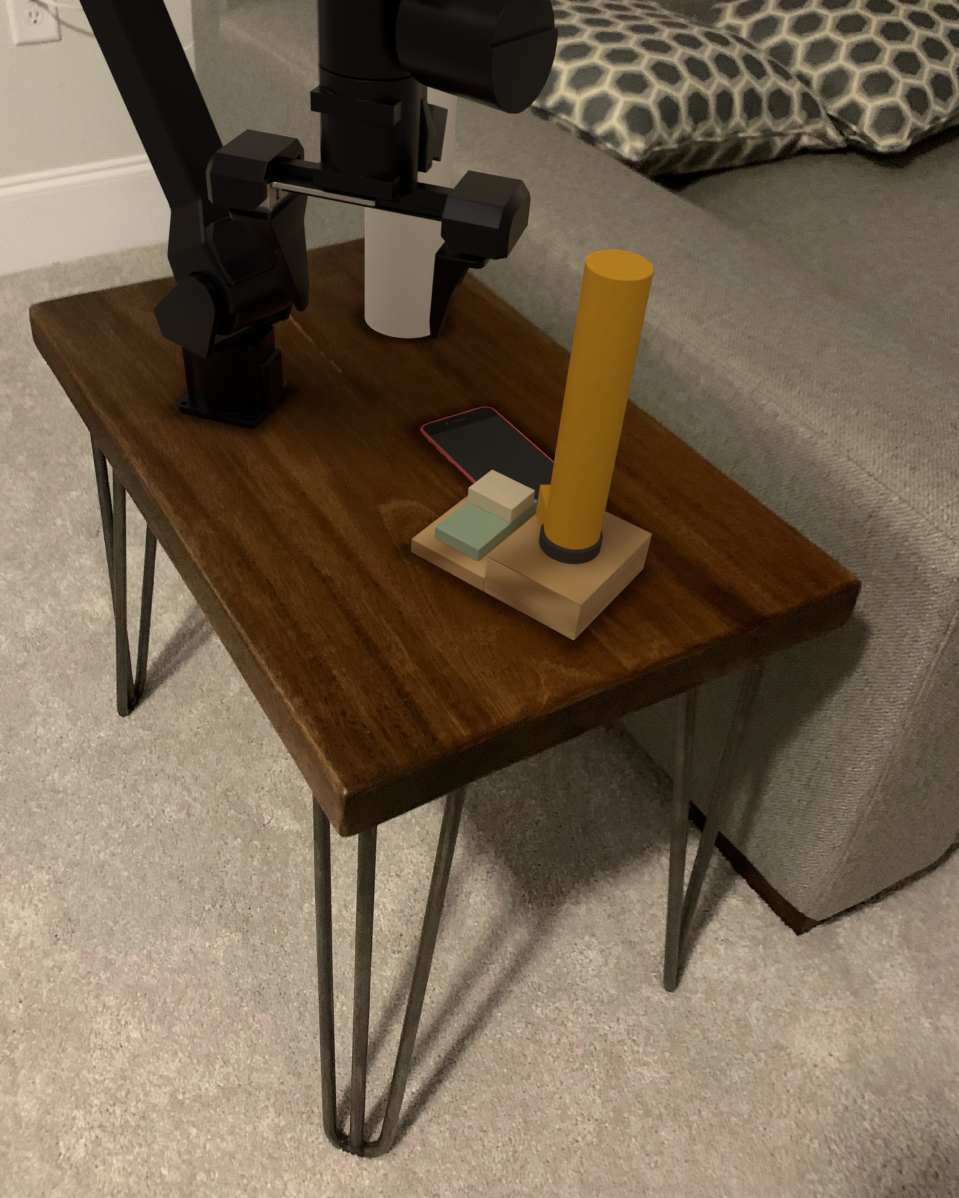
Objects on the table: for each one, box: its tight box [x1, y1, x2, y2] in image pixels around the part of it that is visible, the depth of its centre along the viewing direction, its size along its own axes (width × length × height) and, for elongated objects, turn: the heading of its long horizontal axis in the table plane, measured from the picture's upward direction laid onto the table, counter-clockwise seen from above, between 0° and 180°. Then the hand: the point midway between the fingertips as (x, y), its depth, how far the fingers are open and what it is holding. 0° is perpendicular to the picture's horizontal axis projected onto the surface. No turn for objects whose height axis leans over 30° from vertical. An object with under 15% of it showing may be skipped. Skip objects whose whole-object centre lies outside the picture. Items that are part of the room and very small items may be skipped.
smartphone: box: [419, 406, 554, 501], centre depth 78 cm, size 7×1×14 cm
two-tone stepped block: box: [435, 470, 538, 561], centre depth 70 cm, size 7×4×2 cm, turn 144°
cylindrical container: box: [364, 87, 458, 339], centre depth 85 cm, size 7×7×25 cm
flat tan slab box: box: [410, 495, 653, 641], centre depth 69 cm, size 13×9×3 cm
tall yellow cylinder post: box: [536, 248, 655, 564], centre depth 61 cm, size 5×4×19 cm
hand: (368, 322), depth 68 cm, fingers open, 9 cm apart
